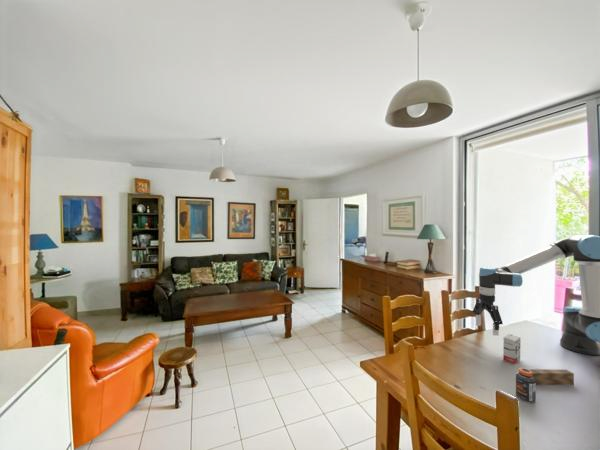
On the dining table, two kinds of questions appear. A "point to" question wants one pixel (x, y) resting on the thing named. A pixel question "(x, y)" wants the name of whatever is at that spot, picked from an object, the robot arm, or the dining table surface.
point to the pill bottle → (525, 385)
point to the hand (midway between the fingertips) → (486, 330)
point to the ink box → (511, 348)
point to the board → (552, 377)
